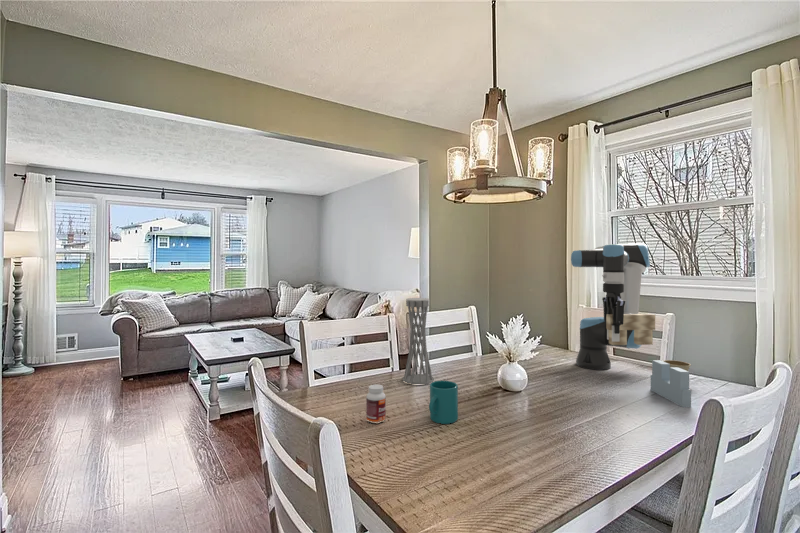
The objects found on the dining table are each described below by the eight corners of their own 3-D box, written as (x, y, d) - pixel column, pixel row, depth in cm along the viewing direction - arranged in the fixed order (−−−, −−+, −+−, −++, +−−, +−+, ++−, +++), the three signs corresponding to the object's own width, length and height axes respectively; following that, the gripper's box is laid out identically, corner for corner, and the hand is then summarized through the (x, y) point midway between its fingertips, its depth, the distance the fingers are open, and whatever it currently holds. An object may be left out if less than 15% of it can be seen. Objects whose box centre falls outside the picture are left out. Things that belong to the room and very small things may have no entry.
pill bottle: (381, 425, 125) (381, 390, 125) (363, 423, 127) (363, 388, 127) (388, 418, 131) (388, 384, 131) (370, 415, 133) (370, 382, 133)
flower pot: (681, 380, 169) (681, 360, 169) (696, 387, 160) (696, 366, 159) (658, 380, 170) (658, 359, 170) (670, 387, 161) (671, 365, 160)
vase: (439, 379, 173) (439, 298, 172) (424, 387, 162) (424, 301, 161) (412, 374, 180) (412, 296, 180) (396, 382, 169) (395, 299, 168)
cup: (418, 422, 127) (418, 387, 127) (440, 411, 136) (440, 378, 136) (442, 430, 121) (442, 393, 121) (463, 418, 131) (463, 384, 130)
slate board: (650, 390, 157) (650, 359, 157) (658, 390, 157) (658, 359, 157) (682, 407, 139) (682, 372, 139) (691, 407, 139) (691, 372, 139)
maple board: (610, 345, 162) (610, 315, 161) (606, 343, 165) (606, 314, 164) (655, 344, 161) (655, 314, 161) (650, 342, 164) (650, 313, 164)
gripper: (594, 281, 170) (594, 336, 171) (614, 284, 154) (614, 344, 155) (612, 281, 170) (612, 336, 171) (634, 284, 154) (633, 344, 155)
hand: (613, 340), depth 163 cm, fingers closed on maple board, 3 cm apart
